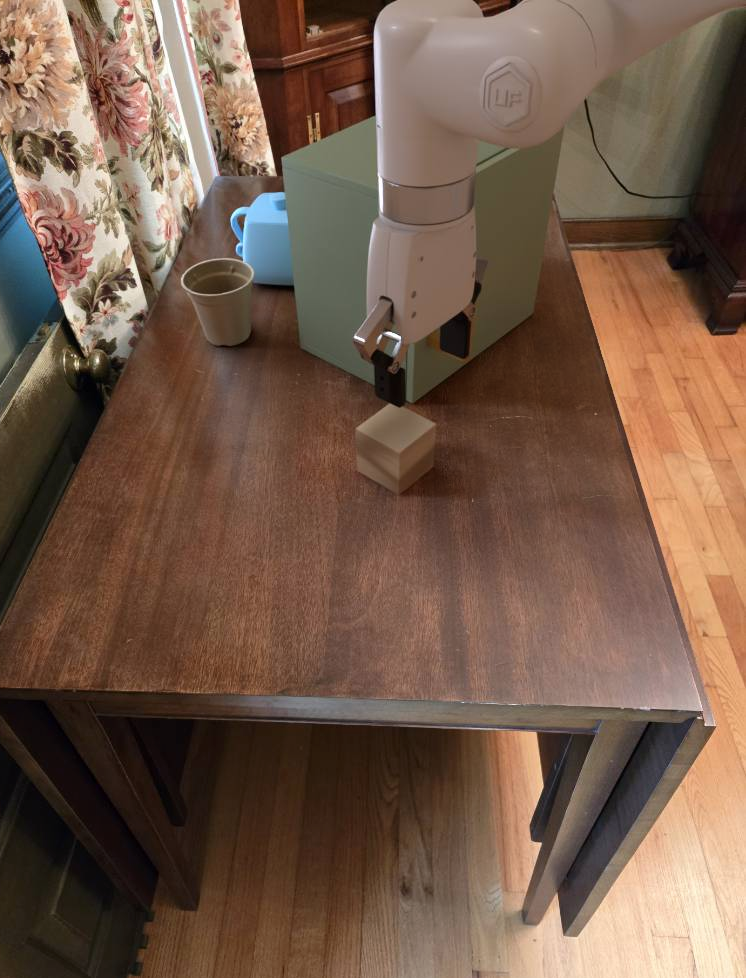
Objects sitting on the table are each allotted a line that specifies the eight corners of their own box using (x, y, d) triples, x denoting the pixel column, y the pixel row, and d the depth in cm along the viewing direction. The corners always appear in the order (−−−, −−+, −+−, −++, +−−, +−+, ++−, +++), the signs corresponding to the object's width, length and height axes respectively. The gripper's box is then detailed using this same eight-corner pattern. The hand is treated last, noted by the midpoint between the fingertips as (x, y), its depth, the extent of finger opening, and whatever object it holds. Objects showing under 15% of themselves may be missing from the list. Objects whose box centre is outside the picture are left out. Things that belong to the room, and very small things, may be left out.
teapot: (347, 296, 105) (343, 217, 96) (227, 290, 108) (214, 212, 99) (360, 255, 113) (358, 178, 104) (249, 250, 116) (238, 175, 107)
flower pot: (239, 361, 95) (228, 301, 89) (180, 345, 98) (166, 286, 92) (275, 324, 101) (267, 265, 94) (218, 311, 104) (207, 253, 97)
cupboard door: (568, 327, 97) (609, 134, 79) (449, 422, 84) (465, 220, 67) (527, 311, 100) (557, 122, 82) (406, 400, 88) (411, 201, 70)
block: (433, 466, 80) (436, 423, 75) (398, 495, 77) (399, 453, 73) (392, 443, 83) (392, 401, 78) (356, 471, 80) (355, 428, 75)
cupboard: (525, 311, 100) (555, 120, 82) (405, 401, 88) (410, 199, 70) (422, 271, 109) (430, 90, 91) (300, 348, 96) (281, 157, 79)
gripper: (454, 148, 63) (446, 325, 75) (315, 221, 55) (332, 405, 67) (528, 166, 59) (507, 349, 72) (391, 247, 51) (394, 437, 64)
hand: (423, 376), depth 69 cm, fingers open, 9 cm apart
